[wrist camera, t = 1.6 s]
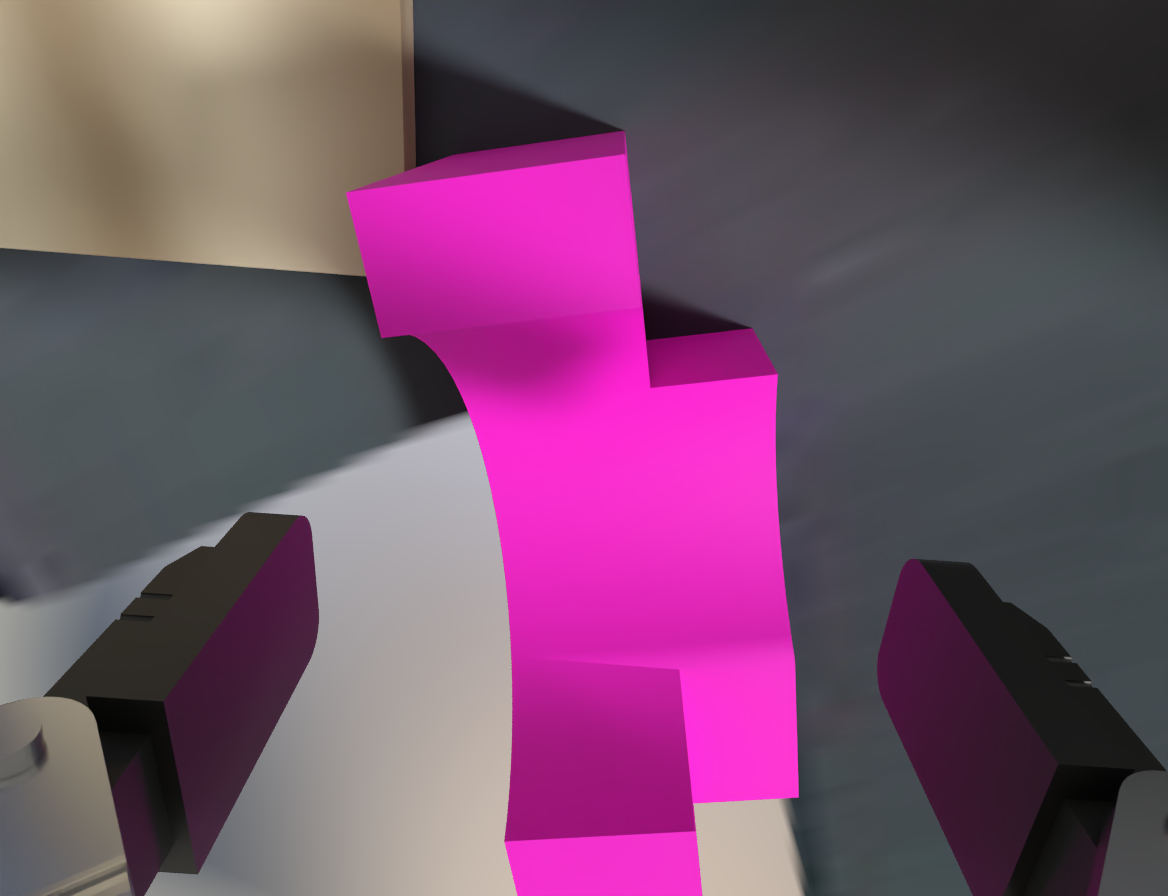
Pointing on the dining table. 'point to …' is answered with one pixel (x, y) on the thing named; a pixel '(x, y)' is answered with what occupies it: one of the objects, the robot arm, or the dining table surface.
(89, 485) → the dining table surface
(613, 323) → the magenta cradle block
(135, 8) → the oak board
